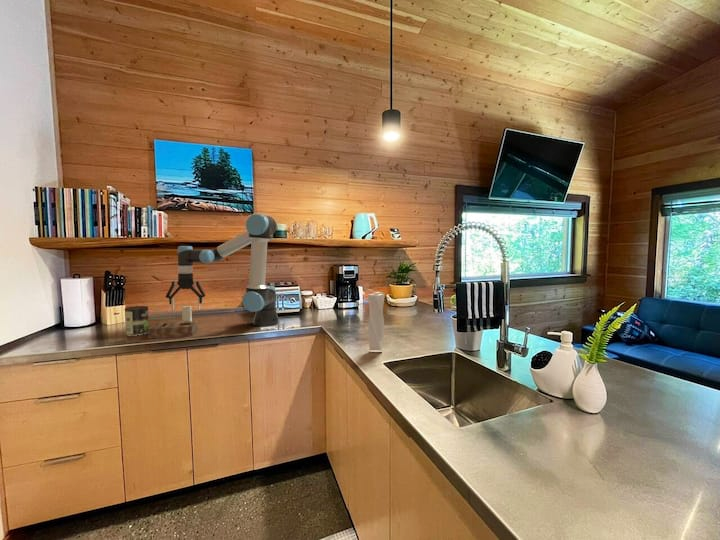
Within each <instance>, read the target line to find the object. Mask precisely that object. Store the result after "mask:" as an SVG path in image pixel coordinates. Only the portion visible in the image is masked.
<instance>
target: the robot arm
mask: <svg viewBox="0 0 720 540" xmlns="http://www.w3.org/2000/svg"><path fill="white" fill-rule="evenodd" d="M245 228H246V230H245V231H244V232H242V233H241V234H239V235H237V236H234V237H233V238H230V240H227V241H225V242H224V243H222V244H220V245H218V246H216V247H214V248H213V249H193V246H192V245H180V246H177V272H178V273H177V281H175V280H174V281H172V282H171V285H170V288H169V289H168V290H167V293H166V295H165V298H167V299H168V301H169V305H170V306H171V311H174V310H175V298H174V297H175V296H176V294H177V293H179V291H180V290H181V289H182V290H189V289H190V291H192V292H193V293H194V294H195V295H196V296H197V297H198V298H197V310H200V309H201V304H202V303H203V298H204V297H206V294H205V291H204V290H203V288H202V287H201V284H200V281H199V280H196V281H194V274H193V272H194V269H193V268H194V267H193V265H194V264H195V263H196V264H211V263H219V262H221V261H222V260H223V259H224V258H226V257H228V256H229V255H232V254H234V253H236V252H238V251H239V250H241V249H243V248H245V247H247V246H249V245H251V246H250V261H249V262H250V264H249V284H247V286H246V287H245V293H244V295H243V296H242V299H241V300H242V301H241V302H242V306H243V307H244V308H245V309H246V310H247V311H248V312H251V313H254V312H255V314H254V317H253V321H252V325H253V326H256V325H257V326H258V327H268V326H267V325H271V326H274V324H275V325H277V323H278V324H279V323H280V319H279V316H278V313H277V307H276V306H277V304H276V303H277V301H276V300H277V296H276V295H277V293H276V292H277V290H276V287H275V286H272V285H266V274H267V273H266V272H267V259H268V243H269V241H270V240H271V238H272V237H271V236H272V235H273V234H275V232H276V230H277V228H278V227H277V221H276V220H275V218H273V217H272V216H269V215H266V214H264V213H253V214H251V215H249V217H247V220H246V222H245ZM193 285H195V286H196V287H197V289H198V290H197V289H196V288H195V287H194V286H193ZM176 286H178V287H177V288H176V289H175V287H176ZM173 289H175V290H174V292H173Z"/></svg>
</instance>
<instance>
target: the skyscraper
mask: <svg viewBox="0 0 720 540" xmlns="http://www.w3.org/2000/svg"><path fill="white" fill-rule="evenodd" d="M366 291H367V295H368V297H367V299H368V308H369V315H368V343H369V344H368V345H369V351H370V350H381V349H382V350H383V345H384V339H385V338H384V337H385V318H384V313H383V309H384V304H385V297H386V294H385V292H382V291H375V290H374V289H372V288H371V289H370V288H367V289H366ZM369 291H372V292H373V293H369Z"/></svg>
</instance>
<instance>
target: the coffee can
mask: <svg viewBox="0 0 720 540" xmlns="http://www.w3.org/2000/svg"><path fill="white" fill-rule="evenodd" d="M124 318H125V319H124V320H125V336H126V335H127V336H126V337H137V335H139V336H143V334H144V335H148V329H149V328H150V327H149V324H150V323H149V306H146V305H138V306H137V305H135V306H130V307H125V308H124Z"/></svg>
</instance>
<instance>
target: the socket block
mask: <svg viewBox="0 0 720 540" xmlns="http://www.w3.org/2000/svg"><path fill="white" fill-rule="evenodd" d="M198 323H199V322H198V320H192V321H184V322H182V321H171V322H168V321H167V322H166V321H165V322H157V323H155V324H153V325H152V326H151V327H149V329H148V333H147V338H148V340H151V339H150V338H156V339H165V338H164V337H171V338H183V337H184V336H185V337H193V336H194V335H195V333H196V332H197V331H198V329H199V328H198V327H199V325H198Z"/></svg>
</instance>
